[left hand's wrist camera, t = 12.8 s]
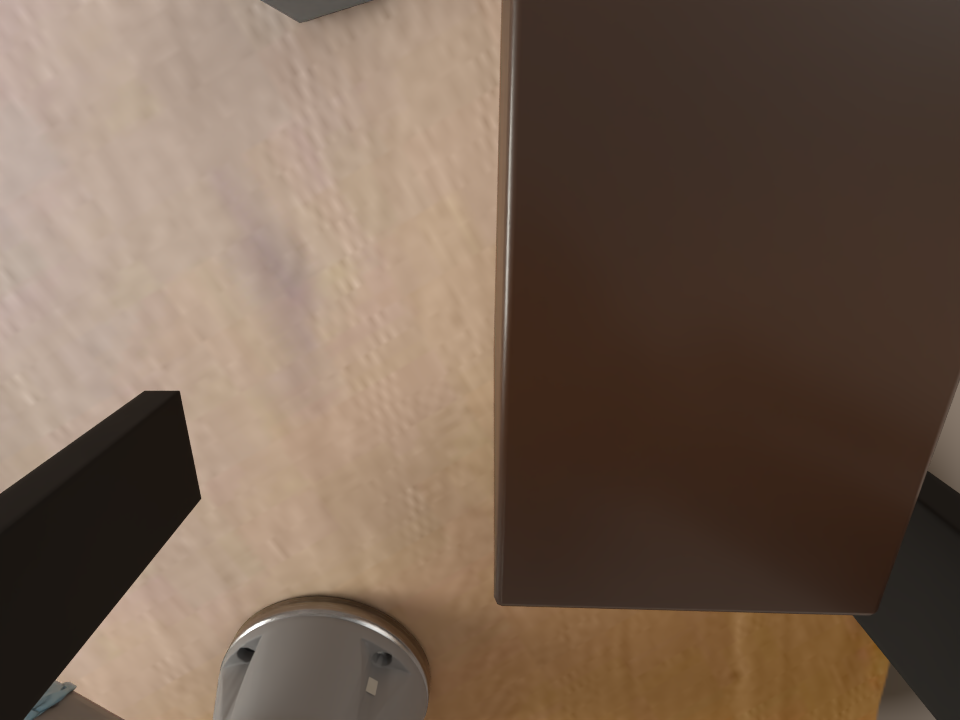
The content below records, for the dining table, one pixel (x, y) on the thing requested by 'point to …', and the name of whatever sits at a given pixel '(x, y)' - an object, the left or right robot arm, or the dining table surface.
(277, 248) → the dining table surface
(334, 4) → the block
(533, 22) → the bar
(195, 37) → the dining table surface
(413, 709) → the left robot arm
